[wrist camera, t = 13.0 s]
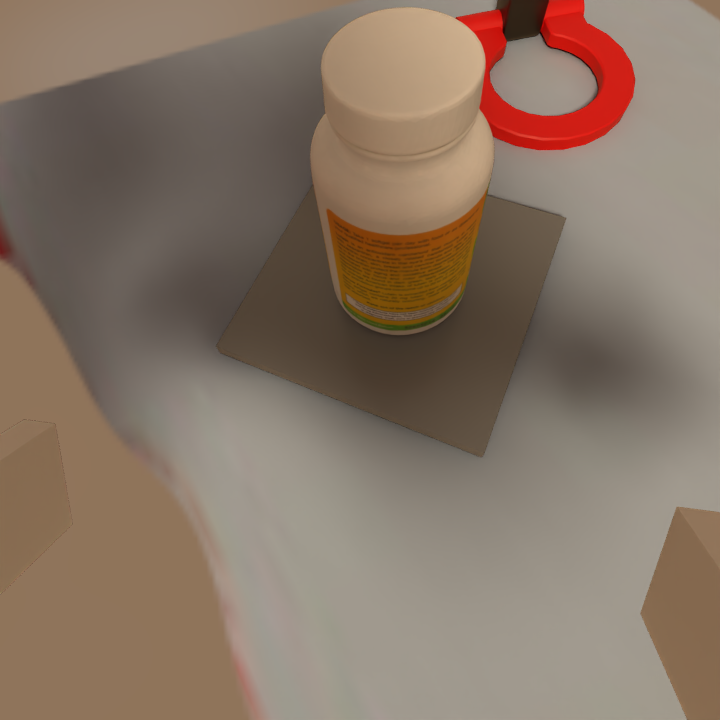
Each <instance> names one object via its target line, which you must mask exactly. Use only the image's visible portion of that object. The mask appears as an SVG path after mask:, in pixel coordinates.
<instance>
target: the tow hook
mask: <svg viewBox="0 0 720 720" xmlns="http://www.w3.org/2000/svg"><path fill="white" fill-rule="evenodd" d="M583 15H584V0H498V1H497V6H496V10H492V11H487V12H481V13H476V14H471V15H466V16H460V17H456V18H455V19H457V20H459V21H461V22H462V23H463V24H465V25H466V26H467V27H468V28H469V29H470V30H471V31H473V32H474V33H475V35H476V36H477V38H478V39H479V41H480V42H481V44H482V47H483V50H484V53H485V61H486V63H485V74H484V81H483V88H482V95H481V102H480V106H479V109H480V110H481V112H482V113H483V115H484V116H485V118H486V120H487V122H488V124H489V126H490V129H491V132H492V135H493V136H494V137H495V138H497V139H500V140H502V141H505V142H507V143H510V144H512V145H515V146H519V147H524V148H530V149H536V150H563V149H568V148H572V147H577V146H581V145H585V144H588V143H590V142H592V141H594V140H596V139H598V138H600V137H602V136H604V135H605V134H606V133H607V132H608V131H610V130H611V129H612V128H613V127H614V126H615V125H616V124H617V123H618V122H619V121H620V119H621V117H622V116H623V114H624V112H625V110H626V109H627V107H628V105H629V103H630V101H631V99H632V97H633V93H634V86H635V76H634V71H633V67H632V63H631V61H630V60H629V58H628V56H627V55H626V53H625V52H624V50H623V48H622V47H621V46H620V45H619V44H617V43H616V42H615V41H614V40H613V39H612V38H611V37H610V36H609V35H608V34H606V33H604V32H603V31H601V30H599V29H597V28H596V27H594V26H592V25H590V24H588V23H587V22H586V20H585V18H584V16H583ZM539 32H541V33H542V35H543V37H544V39H545V41H546V43H547V45H549V46H551V47H553V48H559V49H562V50H565V51H567V52H570V53H572V54H574V55H576V56H577V57H579V58H581V59H582V60H583V61H584V62H585V63H586V64H588V65H589V66H590V67H591V69H592V71H593V72H594V74H595V76H596V78H597V82H598V88H599V89H598V95H597V97H596V98H595V99H594V100H593V101H592V102H591V103H589V104H588V105H587V106H586V107H584V108H582V109H580V110H578V111H575V112H573V113H569V114H564V115H560V116H541V115H535V114H529V113H526V112H524V111H521V110H518V109H516V108H514V107H512V106H511V105H509V104H508V103H506V102H505V101H503V100H502V98H501V97H500V96H499V95H498V94H497V93H496V92H495V90H494V88H493V86H492V84H491V82H490V73H489V72H490V70H491V69H492V67H493V66H494V64H495V63H496V62H497V61H498V60H499V59H500V58H502V57H503V55H504V52H505V48H506V43H507V41H510V40H516V39H521V38H526V37H532V36H536V35H538V34H539Z"/></svg>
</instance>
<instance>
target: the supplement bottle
mask: <svg viewBox="0 0 720 720" xmlns="http://www.w3.org/2000/svg"><path fill="white" fill-rule="evenodd" d="M485 63H486V61H485V53H484V50H483V47H482V44H481V42H480V41H479V39H478V38H477V36H476V35H475V33H474V32H473V31H471V30H470V29H469V28H468V27H467V26H466V25H465V24H463V23H462V22H461V21H459V20H457V19H455V18H453V17H451V16H448V15H446V14H443V13H441V12H437V11H433V10H428V9H422V8H411V7H402V8H390V9H385V10H380V11H375V12H372V13H369V14H366V15H364V16H361V17H359V18H357V19H355V20H353V21H352V22H350V23H348V24H347V25H345V26H344V27H343V28H341V29H340V30H339V31H338V32H337V33H336V34H335V35H334V36H333V37H332V38H331V40H330V41H329V43H328V44H327V46H326V48H325V50H324V53H323V56H322V61H321V76H322V85H323V94H324V107H325V112H326V113H325V114H324V115H323V117H322V118H321V120H320V122H319V123H318V125H317V127H316V129H315V132H314V135H313V138H312V143H311V150H310V163H311V173H312V180H313V186H314V191H315V196H316V200H317V205H318V211H319V216H320V221H321V226H322V231H323V236H324V241H325V247H326V252H327V257H328V262H329V268H330V273H331V278H332V282H333V286H334V290H335V293H336V296H337V298H338V300H339V302H340V304H341V305H342V307H343V308H344V310H345V311H346V312H347V313H348V314H349V315H350V316H351V317H352V318H353V319H354V320H355V321H357V322H358V323H360V324H361V325H363V326H365V327H367V328H369V329H371V330H374V331H376V332H380V333H384V334H389V335H409V334H414V333H418V332H422V331H425V330H428V329H430V328H432V327H434V326H436V325H438V324H439V323H441V322H442V321H444V320H445V319H446V318H447V317H448V316H449V315H450V314H451V313H452V312H453V311H454V310H455V308H456V307H457V306H458V304H459V302H460V301H461V299H462V296H463V294H464V291H465V287H466V284H467V280H468V276H469V271H470V266H471V261H472V257H473V253H474V248H475V244H476V240H477V236H478V231H479V226H480V222H481V218H482V213H483V208H484V204H485V200H486V196H487V192H488V188H489V184H490V179H491V174H492V169H493V163H494V152H495V149H494V140H493V135H492V132H491V129H490V126H489V124H488V122H487V120H486V118H485V116H484V115H483V113H482V112H481V110H480V109H479V106H480V102H481V95H482V88H483V81H484V74H485Z"/></svg>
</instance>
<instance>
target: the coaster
mask: <svg viewBox="0 0 720 720" xmlns="http://www.w3.org/2000/svg"><path fill="white" fill-rule="evenodd" d="M565 221H566V218H564V217H561V216H557V215H554V214H550V213H547V212H544V211H540V210H537V209H533V208H530V207H526V206H523V205H519V204H516V203H512V202H509V201H505V200H502V199H498V198H495V197H491V196H488V195H487V196H486V200H485V204H484V208H483V213H482V218H481V222H480V226H479V231H478V236H477V240H476V244H475V248H474V253H473V257H472V261H471V266H470V271H469V276H468V280H467V284H466V287H465V291H464V294H463V296H462V299H461V301H460V302H459V304H458V306H457V307H456V308H455V310H454V311H453V312H452V313H451V314H450V315H449V316H448V317H447V318H446V319H445V320H444V321H442V322H441V323H439V324H438V325H436V326H434V327H432V328H430V329H428V330H425V331H422V332H418V333H414V334H409V335H389V334H384V333H380V332H376V331H374V330H371V329H369V328H367V327H365V326H363V325H361V324H360V323H358V322H357V321H355V320H354V319H353V318H352V317H351V316H350V315H349V314H348V313H347V312H346V311H345V310H344V308H343V307H342V305H341V304H340V302H339V300H338V298H337V296H336V293H335V290H334V286H333V282H332V278H331V273H330V268H329V262H328V257H327V252H326V247H325V241H324V236H323V231H322V226H321V221H320V216H319V211H318V205H317V200H316V196H315V191H314V186H313V185H312V187H311V188H310V190H309V192H308V193H307V195H306V197H305V198H304V200H303V202H302V203H301V205H300V207H299V208H298V210H297V212H296V213H295V215H294V217H293V218H292V220H291V222H290V223H289V225H288V227H287V228H286V230H285V232H284V233H283V235H282V237H281V238H280V240H279V242H278V243H277V245H276V247H275V248H274V250H273V252H272V253H271V255H270V257H269V258H268V260H267V262H266V263H265V265H264V267H263V268H262V270H261V272H260V274H259V275H258V277H257V279H256V280H255V282H254V284H253V285H252V287H251V289H250V290H249V292H248V294H247V295H246V297H245V299H244V300H243V302H242V304H241V305H240V307H239V309H238V310H237V312H236V314H235V315H234V317H233V319H232V320H231V322H230V324H229V325H228V327H227V329H226V330H225V332H224V334H223V335H222V337H221V339H220V340H219V342H218V344H217V345H216V347H217V349H218V350H219V352H220V353H222V354H225V355H227V356H230V357H232V358H235V359H237V360H240V361H242V362H245V363H247V364H250V365H252V366H255V367H257V368H260V369H262V370H265V371H267V372H270V373H272V374H275V375H277V376H280V377H282V378H285V379H287V380H290V381H292V382H295V383H297V384H300V385H302V386H305V387H307V388H310V389H312V390H315V391H317V392H320V393H322V394H325V395H327V396H330V397H332V398H335V399H337V400H340V401H342V402H345V403H347V404H350V405H352V406H355V407H357V408H360V409H362V410H364V411H367V412H369V413H372V414H374V415H377V416H379V417H382V418H384V419H387V420H389V421H392V422H394V423H397V424H399V425H402V426H404V427H407V428H409V429H412V430H414V431H417V432H419V433H422V434H424V435H427V436H429V437H432V438H434V439H437V440H439V441H442V442H444V443H447V444H449V445H452V446H454V447H457V448H459V449H462V450H464V451H467V452H469V453H472V454H474V455H477V456H479V457H482V456H483V454H484V452H485V449H486V447H487V444H488V441H489V438H490V435H491V432H492V429H493V426H494V424H495V421H496V418H497V415H498V412H499V409H500V406H501V404H502V401H503V398H504V395H505V392H506V389H507V386H508V384H509V381H510V378H511V375H512V372H513V369H514V366H515V364H516V361H517V358H518V355H519V352H520V349H521V346H522V344H523V341H524V338H525V335H526V332H527V329H528V326H529V324H530V321H531V318H532V315H533V312H534V309H535V306H536V304H537V301H538V298H539V295H540V292H541V289H542V286H543V284H544V281H545V278H546V275H547V272H548V269H549V266H550V263H551V261H552V258H553V255H554V252H555V249H556V246H557V243H558V241H559V238H560V235H561V232H562V229H563V226H564V223H565Z"/></svg>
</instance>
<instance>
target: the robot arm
mask: <svg viewBox="0 0 720 720" xmlns="http://www.w3.org/2000/svg"><path fill="white" fill-rule="evenodd" d="M71 525H72V518H71V511H70V506H69V500H68V494H67V489H66V482H65V477H64V472H63V465H62V460H61V453H60V448H59V442H58V437H57V430H56V425H55V423H48V422H40V421H33V420H25V419H24V420H22V421H20V422H19V423H17V424H16V425H14V426H13V427H11V428H9V429H7V430H6V431H4V432H2V433H1V434H0V594H2V593H3V592H4V591H5V590H6V589H7V588H8V587H9V586H10V585H11V584H12V583H13V582H14V581H15V580H16V579H17V578H18V577H19V576H20V575H21V574H22V573H23V572H24V571H25V570H26V569H27V568H28V567H29V566H30V565H31V564H32V563H33V562H34V561H35V560H36V559H37V558H38V557H39V556H41V555H42V554H43V553H44V552H45V551H46V550H47V549H48V548H49V547H50V546H51V545H52V544H53V543H54V542H55V541H56V540H57V539H58V538H59V537H60V536H61V535H62V534H63V533H64V532H65V531H66V530H67V529H68V528H69V527H70V526H71ZM640 614H641V616H642V618H643V620H644V623H645V625H646V627H647V630H648V632H649V634H650V636H651V639H652V641H653V643H654V645H655V648H656V650H657V652H658V654H659V657H660V659H661V661H662V664H663V666H664V668H665V670H666V673H667V675H668V677H669V679H670V682H671V684H672V686H673V688H674V691H675V693H676V695H677V697H678V700H679V702H680V704H681V707H682V709H683V711H684V713H685V716H686V718H687V720H720V513H719V512H714V511H706V510H699V509H691V508H684V507H677V508H676V510H675V513H674V516H673V519H672V522H671V525H670V528H669V531H668V534H667V537H666V540H665V543H664V546H663V549H662V551H661V554H660V557H659V560H658V563H657V566H656V569H655V572H654V575H653V578H652V581H651V584H650V587H649V590H648V592H647V595H646V598H645V601H644V604H643V607H642V610H641V613H640Z"/></svg>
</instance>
